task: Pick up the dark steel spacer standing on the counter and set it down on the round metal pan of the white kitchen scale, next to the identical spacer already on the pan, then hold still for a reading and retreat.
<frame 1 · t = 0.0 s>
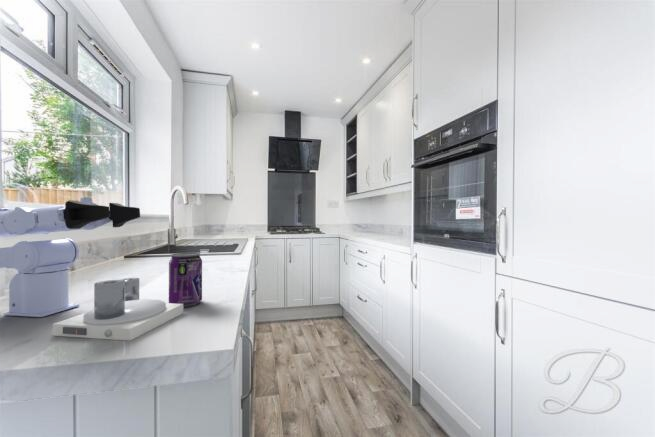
hand: (124, 212, 60), 22 cm above the countertop, tool horizontal, fingers open, 7 cm apart
beverage can: (185, 305, 68), on the countertop
kitchen scale: (124, 323, 56), on the countertop
steel spacer 1: (109, 315, 52), point 3 cm above the countertop, touching kitchen scale
steel spacer 2: (128, 305, 67), on the countertop
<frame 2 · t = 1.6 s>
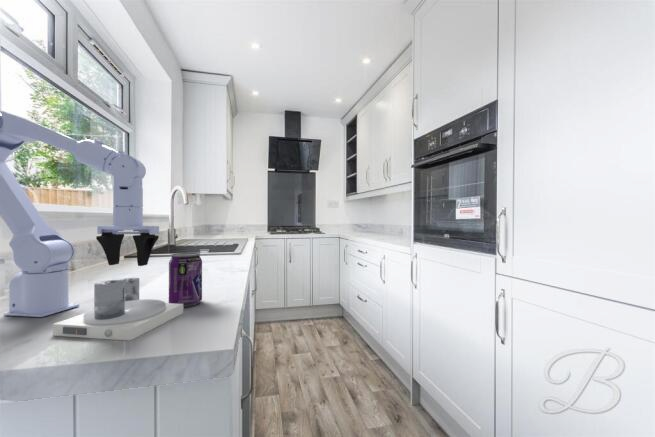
hand: (128, 265, 67), 9 cm above the countertop, tool pointing down, fingers open, 7 cm apart
nothing on the countertop moved.
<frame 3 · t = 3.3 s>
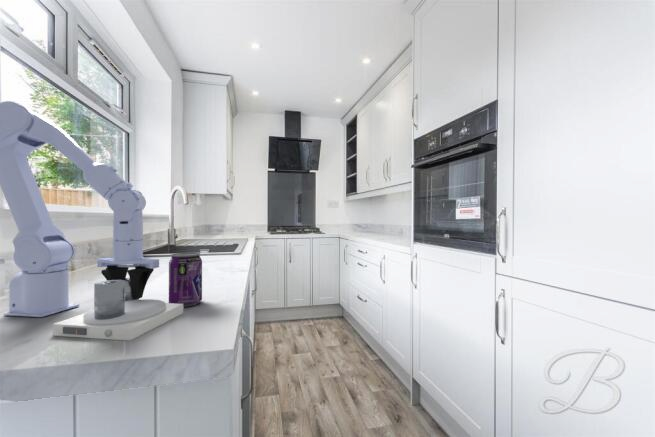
hand: (128, 298, 67), 2 cm above the countertop, tool pointing down, fingers closed on steel spacer 2, 4 cm apart
steel spacer 2: (128, 304, 67), on the countertop, touching gripper
everything else where it was.
when the fingers open (6 cm above the countertop, at t = 6.3 s): steel spacer 2 stays where it is, resting on kitchen scale.
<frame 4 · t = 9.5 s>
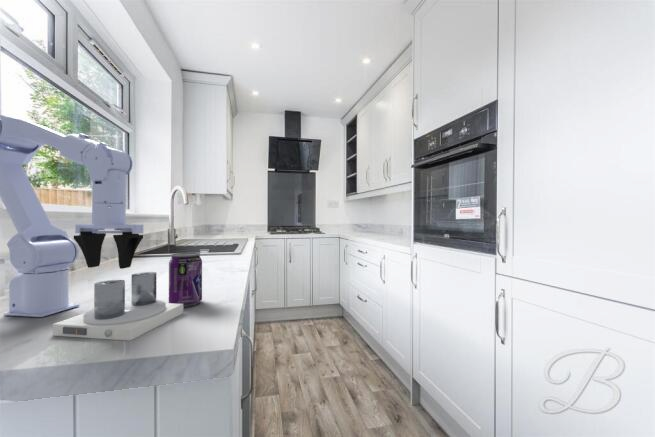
hand: (109, 267, 61), 10 cm above the countertop, tool pointing down, fingers open, 7 cm apart
steel spacer 2: (144, 302, 60), point 3 cm above the countertop, touching kitchen scale
everything else where it was.
at the end: steel spacer 2 inside the target area on the kitchen scale (4.3 cm from its centre), point 2.8 cm above the kitchen scale's base; steel spacer 2 tilted 0°; steel spacer 1 inside the target area on the kitchen scale (3.8 cm from its centre), point 2.8 cm above the kitchen scale's base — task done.
